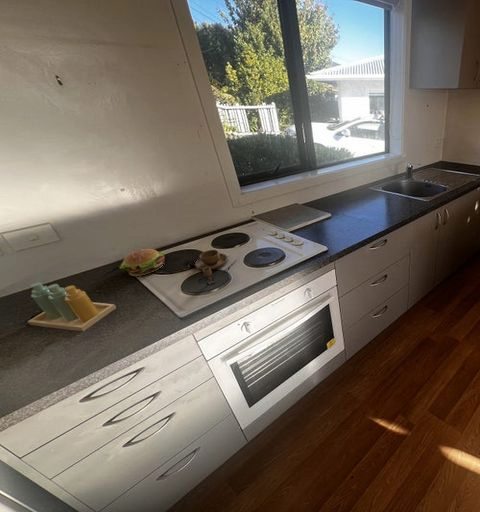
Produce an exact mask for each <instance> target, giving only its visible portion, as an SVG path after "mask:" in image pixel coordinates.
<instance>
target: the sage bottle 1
mask: <svg viewBox="0 0 480 512" xmlns="http://www.w3.org/2000/svg"><path fill="white" fill-rule="evenodd" d="M47 287H48V286H47V285H43V283H42V282H40V281H39V282H34V283H33V284H31V285H30V288H31V289H32V290H31V295H30V297H31V298H32V299H33V300H34V302H35V304H37V306H38V307H39V308H40V309H41V310H42V313H43V312H44V313H45V314H46V315H47V316H48V318H49V319H57V318H60V317H62V315H61V314H60V313H59V312H58V310H57V309H56V308H55V306H54V305H53V304H52V303H51V301H50V300H49V299H48V296H49V294H48V293H49V292H50V291H49V289H48V288H47Z"/></svg>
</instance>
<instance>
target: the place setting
mask: <svg viewBox="0 0 480 512" xmlns="http://www.w3.org/2000/svg"><path fill="white" fill-rule="evenodd" d="M199 258H200V259H199ZM199 258H198V259H199V260H198V259H196V260H197V261H196V260H195V261H196V262H195V264H194V266H195V268H196V269H197V270H199V271H202V272H203V275H204V276H205V277H207V280H208V281H212V280H213V279H212V277H211V276H212V273H213V272H212V271H213V269H214V270H217V269H219V268H221V267H223V266H224V265H225V264H226V263H228V260H229V257H228V255H227V254H225V253H222V252H219V250H217V249H209V250H205V251H203V252H201V253H200V254H199ZM236 262H237V259H235V260H234V261H233V262H232V263H231V264H230V265H228V267H227V268H229V269H230V267H232V266H233V265H234V264H235V263H236ZM187 267H188V268H190V266H189V264H188V265H187ZM227 268H225V269H226V270H225V269H224V270H225V271H224V272H226V271H228V269H227Z"/></svg>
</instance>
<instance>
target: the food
mask: <svg viewBox="0 0 480 512" xmlns="http://www.w3.org/2000/svg"><path fill="white" fill-rule="evenodd" d="M165 258H166V257H165V253H164V252H162V251H157V250H156V249H154V248H142V249H137V250H135V251H133V252H130V253H128V254H127V255H126V256H125V257H124V259H123V260H122V262H121V264H120V265H119V266H118V268H119V269H120V271H121V272H128V275H130V276H132V277H137V276H139V277H141V276H140V275H145V274H148V273H151V272H154V271H156V270H158V269H159V268H161V267H162V266H163V264H164V265H165V263H166V259H165ZM163 267H164V266H163ZM163 267H162V268H163ZM162 268H161V269H162ZM158 271H159V270H158ZM156 272H157V271H156ZM154 273H155V272H154ZM145 276H146V275H145Z"/></svg>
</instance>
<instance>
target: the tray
mask: <svg viewBox="0 0 480 512" xmlns="http://www.w3.org/2000/svg"><path fill="white" fill-rule="evenodd" d="M92 303H93V304H94V306H95V307H96V309H97V310H98V312H99V314H97V315H96V316H94V317H93V318H91V319H90V320H88V321H87V322H85V323H82V322H81V321H80V320H79V318H78V319H75V320H72V321H66V320H65V319H64V318H63V317H60V318H57V319H49V318H48V316H47V315H46V314H45V313H44V312H43V311H42V312H41V313H39V314H37V315H36V316H34V317H33V318H31V319H29V320H28V321H27V323H28V324H29V325H30V326H34V327H43V328H51V329H52V328H53V329H62V330H69V331H79V332H85V331H86V330H88V329H89V328H90V327H92V326H93V325H95V324H96V323H97V322H99V321H100V320H101V319H103V318H104V317H106V316H107V315H108V314H110V313H112V312H113V311H115V310H116V309H117V306H116V305H115V303H114V304H113V303H103V302H94V301H92Z"/></svg>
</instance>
